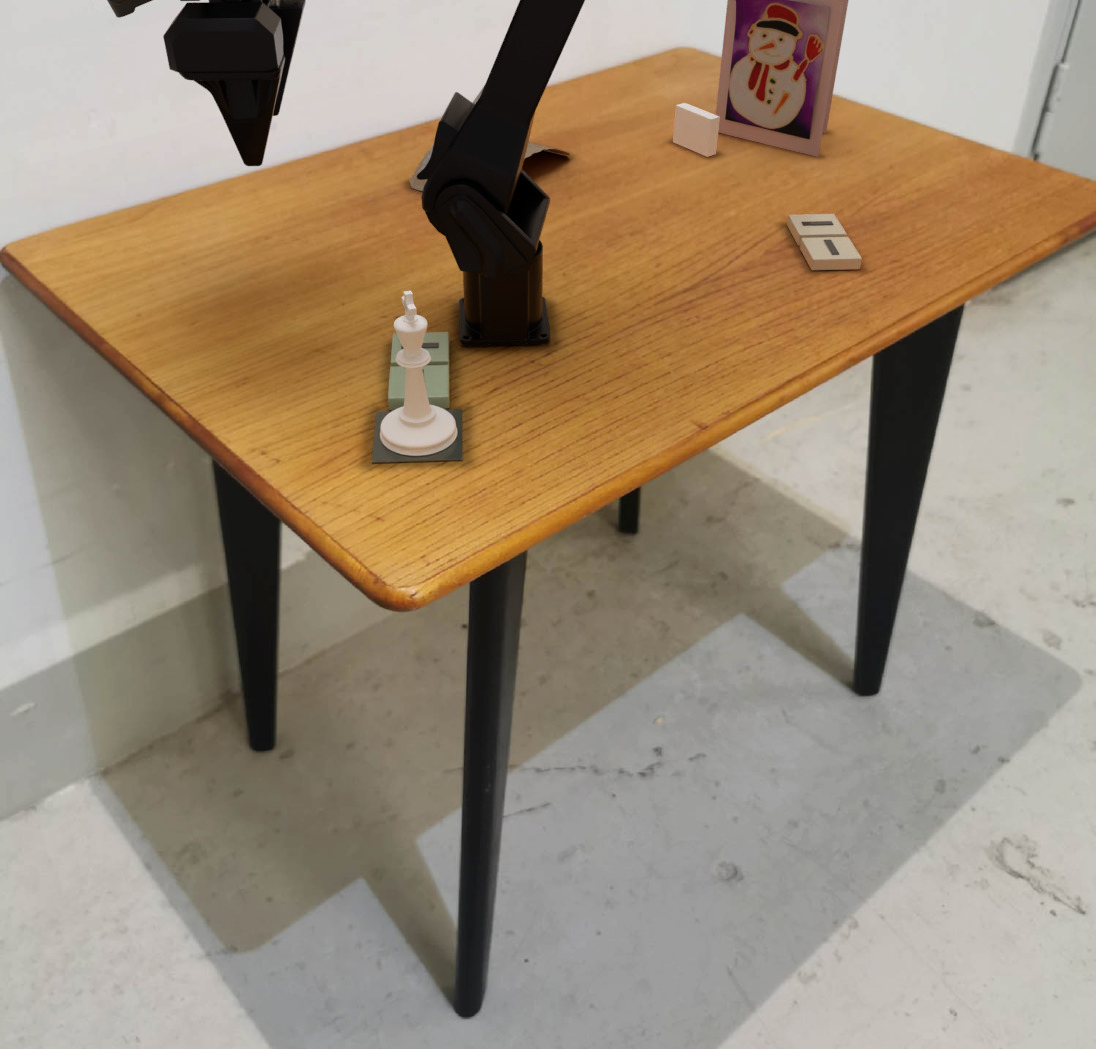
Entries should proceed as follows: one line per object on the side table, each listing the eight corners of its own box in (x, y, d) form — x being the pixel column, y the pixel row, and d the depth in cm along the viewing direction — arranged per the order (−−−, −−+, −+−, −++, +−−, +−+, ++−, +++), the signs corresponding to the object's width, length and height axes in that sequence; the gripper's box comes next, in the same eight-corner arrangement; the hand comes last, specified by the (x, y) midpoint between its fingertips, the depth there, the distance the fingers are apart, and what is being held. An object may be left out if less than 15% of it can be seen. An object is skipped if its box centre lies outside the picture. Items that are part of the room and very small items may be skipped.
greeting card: (709, 134, 113) (726, -28, 104) (743, 113, 118) (762, -43, 108) (814, 159, 108) (841, -7, 99) (845, 136, 113) (874, -25, 104)
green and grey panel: (462, 460, 70) (461, 445, 69) (371, 463, 69) (370, 448, 69) (460, 343, 81) (460, 329, 80) (382, 345, 81) (381, 331, 80)
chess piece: (444, 406, 74) (436, 267, 68) (467, 447, 71) (461, 304, 64) (371, 421, 73) (356, 280, 66) (391, 463, 69) (377, 319, 63)
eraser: (707, 157, 109) (710, 119, 106) (672, 142, 112) (675, 105, 109) (716, 154, 109) (720, 116, 107) (681, 139, 112) (684, 102, 110)
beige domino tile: (860, 269, 90) (862, 257, 90) (811, 270, 90) (813, 258, 90) (832, 224, 97) (834, 212, 96) (786, 225, 97) (788, 213, 96)
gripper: (119, -151, 73) (168, 94, 83) (38, -90, 59) (109, 197, 68) (292, -150, 74) (320, 92, 83) (254, -90, 59) (294, 194, 69)
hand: (262, 139), depth 76 cm, fingers open, 9 cm apart
